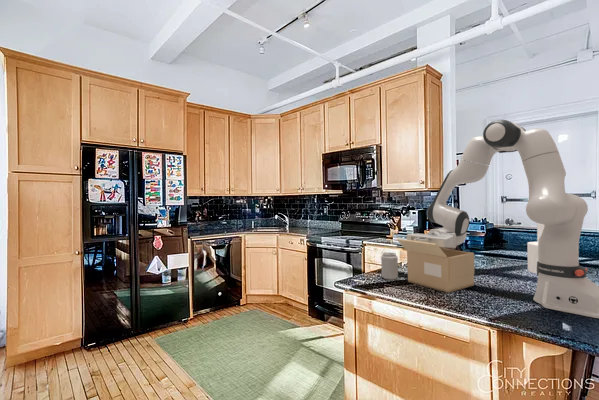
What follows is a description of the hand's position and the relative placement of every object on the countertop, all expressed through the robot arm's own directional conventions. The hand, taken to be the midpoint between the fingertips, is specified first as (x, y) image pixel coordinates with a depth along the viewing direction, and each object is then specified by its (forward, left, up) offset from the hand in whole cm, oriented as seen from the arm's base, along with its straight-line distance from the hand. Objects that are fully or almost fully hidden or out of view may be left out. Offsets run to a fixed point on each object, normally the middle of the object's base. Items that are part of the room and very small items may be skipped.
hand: (416, 241), depth 131 cm
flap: (0, -2, -2) cm, 3 cm away
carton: (0, -15, -20) cm, 25 cm away
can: (+19, -4, -20) cm, 28 cm away
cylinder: (-18, -76, -20) cm, 80 cm away
